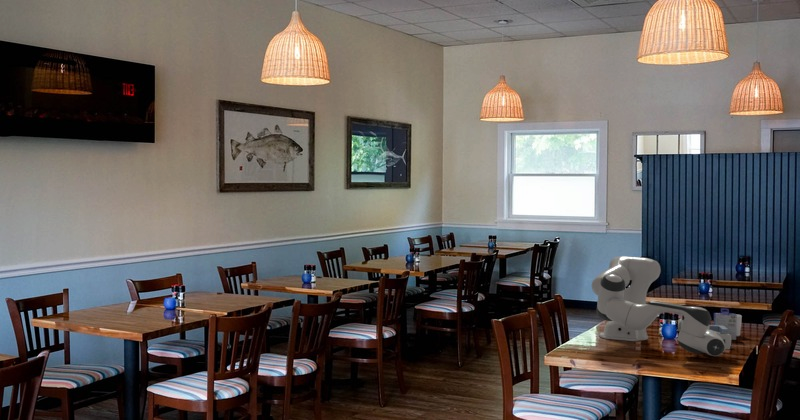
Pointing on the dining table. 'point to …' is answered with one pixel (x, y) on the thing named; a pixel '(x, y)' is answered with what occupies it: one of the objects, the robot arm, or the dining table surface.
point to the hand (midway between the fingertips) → (703, 334)
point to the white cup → (738, 325)
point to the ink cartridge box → (726, 321)
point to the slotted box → (718, 328)
